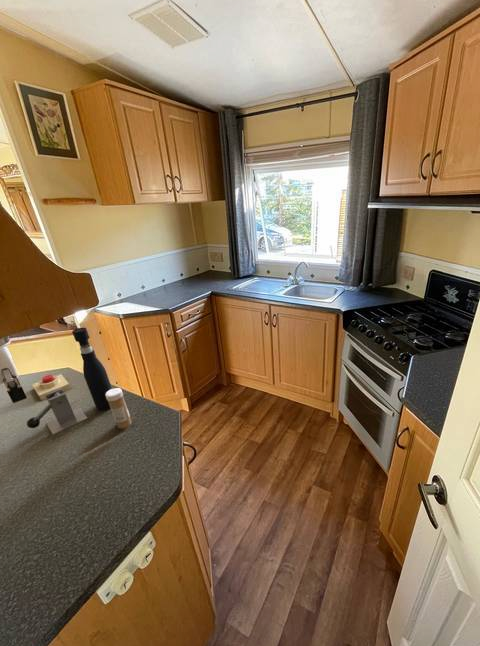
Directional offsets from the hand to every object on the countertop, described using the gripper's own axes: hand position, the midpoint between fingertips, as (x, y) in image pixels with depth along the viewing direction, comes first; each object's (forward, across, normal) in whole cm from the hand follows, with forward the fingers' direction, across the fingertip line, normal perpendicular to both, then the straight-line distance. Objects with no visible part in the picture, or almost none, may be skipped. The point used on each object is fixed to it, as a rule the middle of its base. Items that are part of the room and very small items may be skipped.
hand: (17, 393), depth 85 cm
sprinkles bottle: (+16, +18, +20) cm, 31 cm away
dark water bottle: (+16, +3, +20) cm, 26 cm away
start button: (+13, -28, +10) cm, 32 cm away
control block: (+16, -28, +10) cm, 34 cm away
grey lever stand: (+16, +2, +8) cm, 18 cm away
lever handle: (+9, +1, +5) cm, 11 cm away
